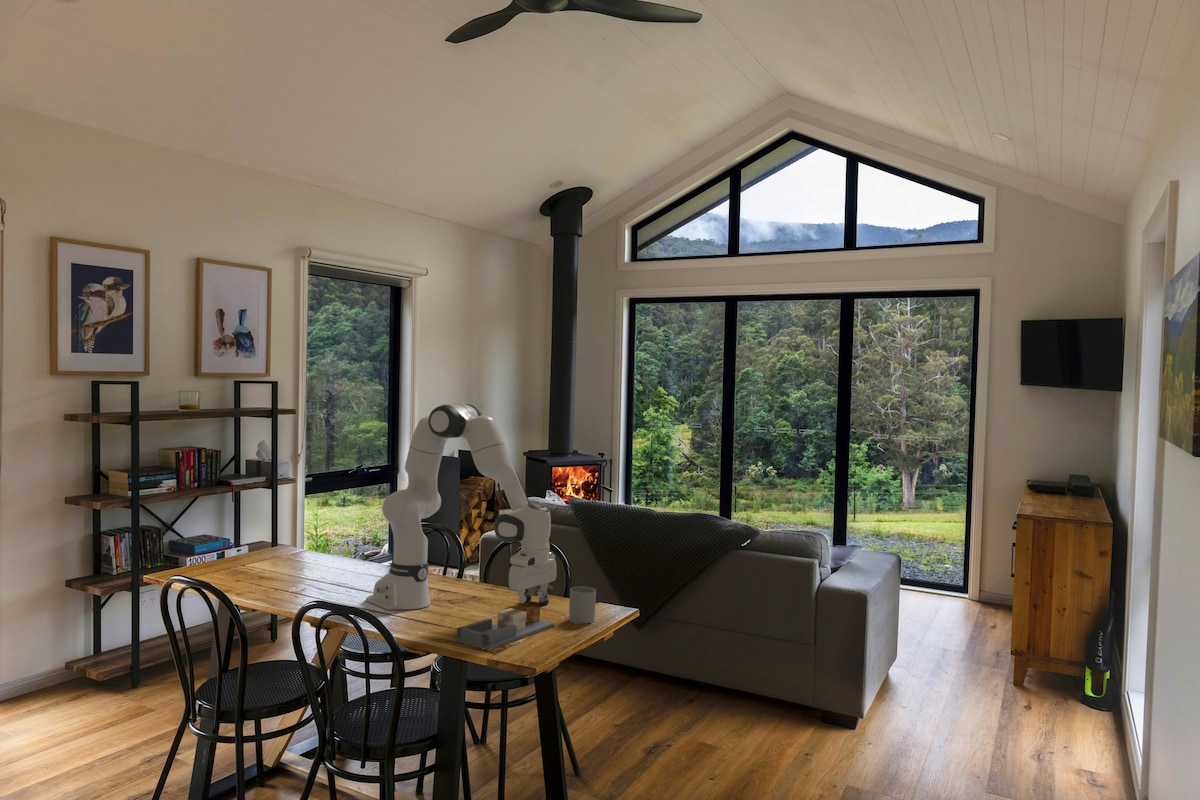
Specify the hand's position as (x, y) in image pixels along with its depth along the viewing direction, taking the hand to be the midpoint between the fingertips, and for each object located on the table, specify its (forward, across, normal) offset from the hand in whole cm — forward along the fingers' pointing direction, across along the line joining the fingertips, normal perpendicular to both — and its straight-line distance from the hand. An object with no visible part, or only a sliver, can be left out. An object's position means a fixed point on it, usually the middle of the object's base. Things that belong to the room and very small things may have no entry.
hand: (532, 599), depth 257 cm
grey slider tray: (+8, +13, +1) cm, 15 cm away
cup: (+8, -14, +10) cm, 19 cm away
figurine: (+8, -22, -14) cm, 28 cm away
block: (+7, +6, +1) cm, 9 cm away
